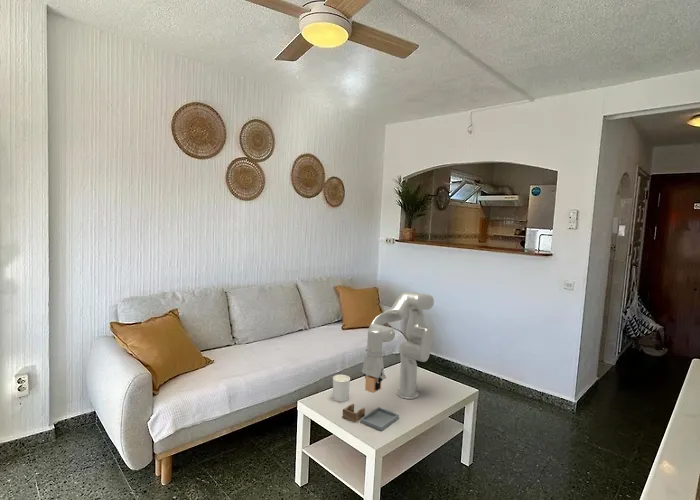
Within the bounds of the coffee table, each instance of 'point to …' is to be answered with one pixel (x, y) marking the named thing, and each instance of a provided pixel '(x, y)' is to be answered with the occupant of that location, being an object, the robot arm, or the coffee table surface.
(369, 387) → the peach slab with tab
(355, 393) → the coffee table surface
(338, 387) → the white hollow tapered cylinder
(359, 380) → the coffee table surface
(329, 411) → the coffee table surface
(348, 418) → the frame
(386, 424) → the tray
